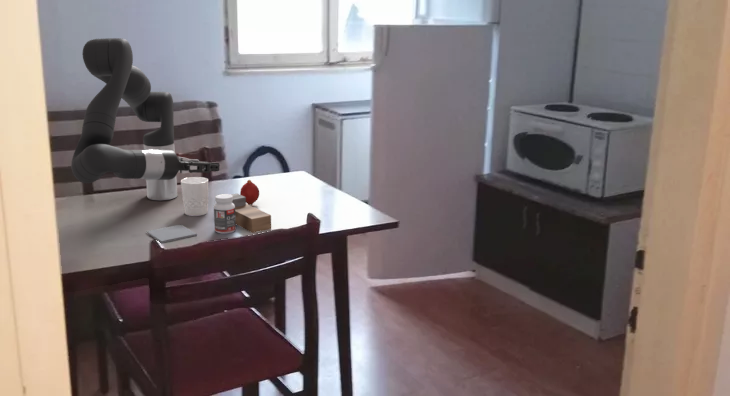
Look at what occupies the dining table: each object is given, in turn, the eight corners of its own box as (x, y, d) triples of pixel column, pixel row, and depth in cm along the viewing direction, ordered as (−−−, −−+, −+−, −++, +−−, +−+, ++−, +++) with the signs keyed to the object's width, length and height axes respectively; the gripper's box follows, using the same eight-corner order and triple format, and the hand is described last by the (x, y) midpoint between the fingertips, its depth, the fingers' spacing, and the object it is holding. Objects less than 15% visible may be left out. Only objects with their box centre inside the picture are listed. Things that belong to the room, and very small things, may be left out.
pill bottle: (231, 235, 200) (229, 199, 198) (211, 233, 202) (209, 198, 199) (238, 228, 206) (237, 194, 203) (219, 227, 207) (218, 192, 204)
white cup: (215, 211, 221) (213, 178, 219) (198, 218, 214) (197, 184, 212) (193, 207, 224) (192, 175, 222) (177, 214, 218) (174, 181, 215)
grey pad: (146, 232, 201) (146, 231, 201) (180, 226, 207) (180, 224, 207) (161, 242, 194) (161, 241, 194) (196, 235, 200) (196, 233, 200)
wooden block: (218, 215, 217) (217, 194, 215) (236, 211, 221) (235, 191, 219) (252, 233, 202) (251, 210, 200) (271, 228, 206) (270, 206, 204)
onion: (241, 202, 231) (240, 177, 228) (260, 202, 231) (259, 177, 229) (240, 207, 225) (239, 182, 223) (259, 207, 225) (258, 181, 223)
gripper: (172, 152, 178) (226, 153, 190) (139, 146, 187) (193, 148, 199) (170, 183, 179) (224, 182, 191) (138, 176, 188) (191, 176, 200)
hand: (208, 165), depth 195 cm, fingers open, 8 cm apart
